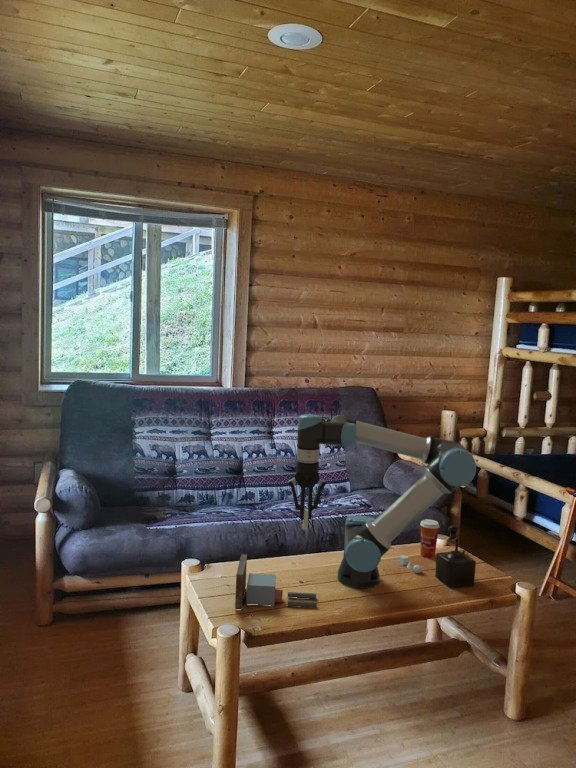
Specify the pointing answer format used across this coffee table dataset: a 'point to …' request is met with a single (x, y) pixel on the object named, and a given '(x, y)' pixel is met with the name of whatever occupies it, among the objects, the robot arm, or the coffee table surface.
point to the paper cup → (429, 537)
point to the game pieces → (409, 563)
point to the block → (261, 589)
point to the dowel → (278, 595)
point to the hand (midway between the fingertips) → (305, 528)
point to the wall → (240, 581)
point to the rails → (302, 603)
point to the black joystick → (455, 565)
